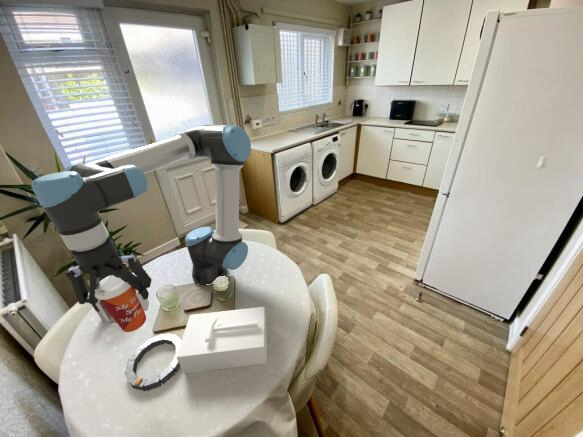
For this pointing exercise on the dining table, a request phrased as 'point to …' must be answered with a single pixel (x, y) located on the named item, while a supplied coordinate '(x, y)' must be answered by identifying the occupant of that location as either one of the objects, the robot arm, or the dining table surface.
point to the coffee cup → (121, 303)
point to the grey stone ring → (138, 355)
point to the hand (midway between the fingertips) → (128, 311)
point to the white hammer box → (224, 340)
